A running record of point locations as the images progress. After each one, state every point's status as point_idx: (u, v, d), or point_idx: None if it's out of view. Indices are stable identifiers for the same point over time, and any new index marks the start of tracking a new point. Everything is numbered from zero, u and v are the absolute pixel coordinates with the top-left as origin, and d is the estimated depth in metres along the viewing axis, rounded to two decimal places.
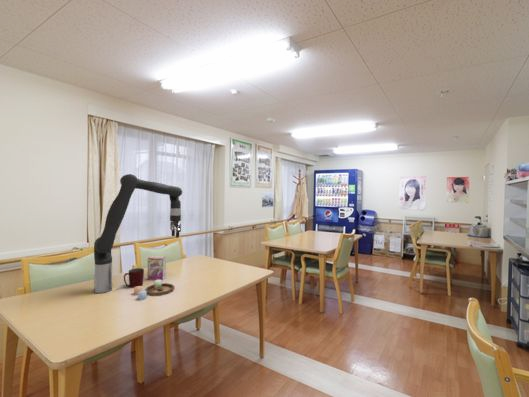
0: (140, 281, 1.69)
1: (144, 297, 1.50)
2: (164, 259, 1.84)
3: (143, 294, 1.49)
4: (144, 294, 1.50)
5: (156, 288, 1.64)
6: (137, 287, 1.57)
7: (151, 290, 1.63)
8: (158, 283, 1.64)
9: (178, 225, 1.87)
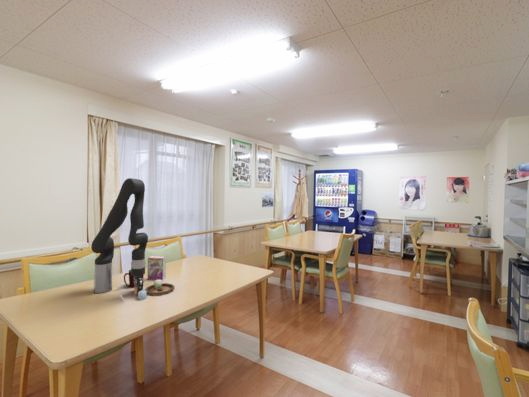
0: None
1: (144, 297, 1.50)
2: (164, 259, 1.84)
3: (143, 294, 1.49)
4: (144, 294, 1.50)
5: (156, 288, 1.64)
6: None
7: (151, 290, 1.63)
8: (158, 283, 1.64)
9: (140, 283, 1.52)
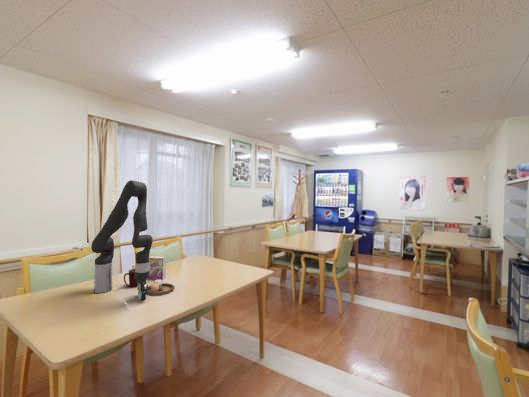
0: None
1: None
2: (164, 259, 1.84)
3: None
4: None
5: None
6: (154, 284, 1.59)
7: None
8: (158, 283, 1.64)
9: (144, 288, 1.45)
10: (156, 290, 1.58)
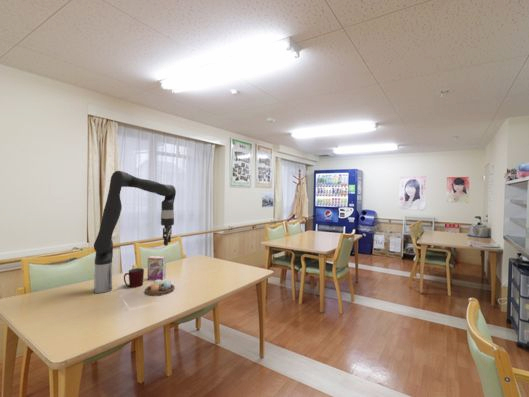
0: (140, 281, 1.69)
1: (167, 287, 1.62)
2: (164, 259, 1.84)
3: (166, 284, 1.61)
4: (167, 285, 1.62)
5: None
6: (154, 284, 1.59)
7: None
8: (158, 283, 1.64)
9: (164, 230, 1.56)
10: (156, 290, 1.58)
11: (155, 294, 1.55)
